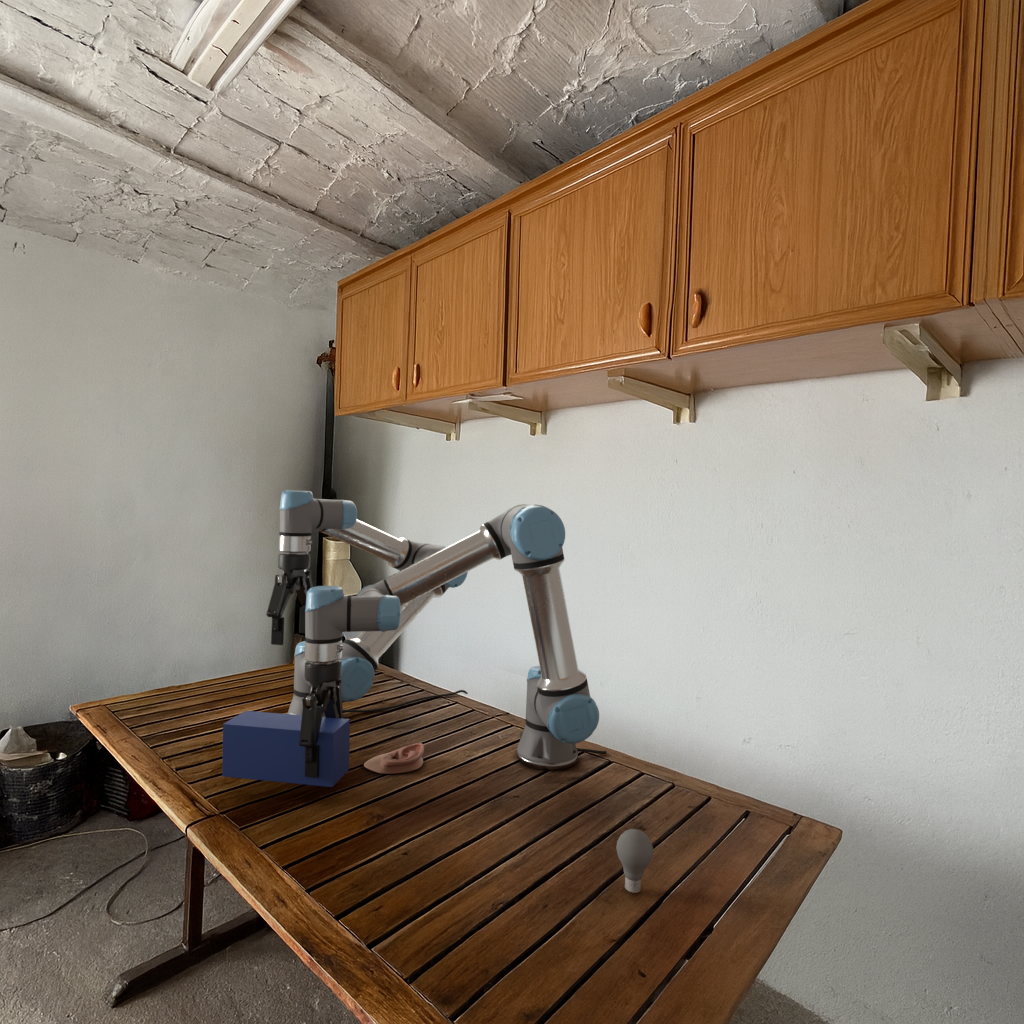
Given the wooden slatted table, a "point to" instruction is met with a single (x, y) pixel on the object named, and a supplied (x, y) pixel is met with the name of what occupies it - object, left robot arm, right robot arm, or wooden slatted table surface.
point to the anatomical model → (397, 760)
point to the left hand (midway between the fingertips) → (291, 638)
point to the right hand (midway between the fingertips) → (321, 767)
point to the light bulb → (634, 857)
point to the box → (283, 748)
